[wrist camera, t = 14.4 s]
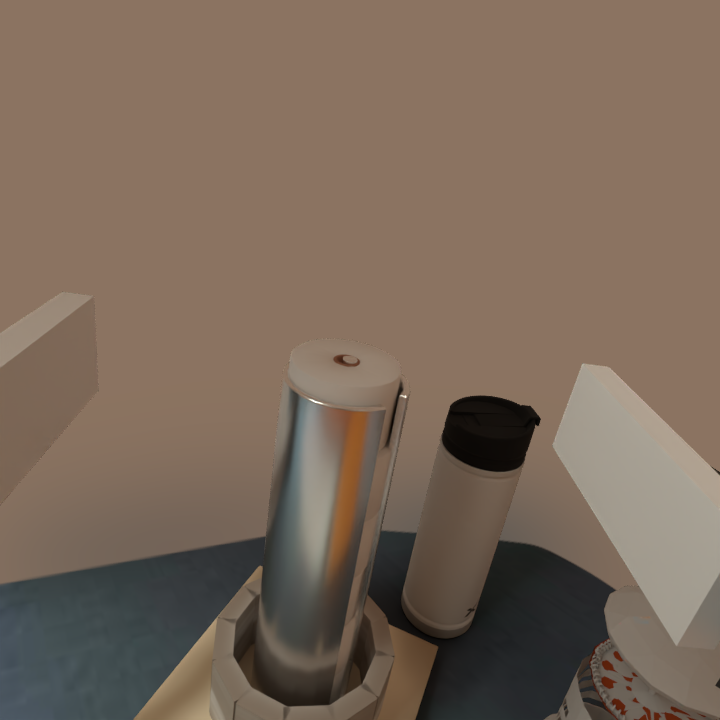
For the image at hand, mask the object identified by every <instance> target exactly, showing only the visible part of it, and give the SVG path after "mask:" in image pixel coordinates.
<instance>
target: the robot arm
mask: <svg viewBox="0 0 720 720" xmlns="http://www.w3.org/2000/svg"><path fill="white" fill-rule="evenodd" d="M97 391H98V369H97V349H96V328H95V305H94V296H91V295H83V294H76V293H69V292H62V293H60V294H59V295H57V296H56V297H54V298H53V299H51V300H50V301H48V302H47V303H45V304H44V305H42V306H41V307H39V308H38V309H36V310H35V311H33V312H32V313H30V314H28V315H27V316H25V317H24V318H22V319H21V320H19V321H18V322H17V323H15V324H13V325H12V326H10V327H9V328H7V329H6V330H4V331H3V332H1V333H0V505H1V504H2V503H3V501H4V500H5V499H6V498H7V497H8V496H9V494H10V493H11V492H12V491H13V490H14V488H15V487H16V486H17V485H18V484H19V483H20V481H21V480H22V479H23V478H24V477H25V476H26V474H27V473H28V472H29V471H30V470H31V469H32V468H33V466H34V465H35V464H36V463H37V462H38V461H39V459H40V458H41V457H42V456H43V455H44V454H45V452H46V451H47V450H48V449H49V448H50V447H51V445H52V444H53V443H54V441H56V440H57V438H58V437H59V436H60V435H61V434H62V433H63V431H64V430H65V429H66V428H67V427H68V425H69V424H70V423H71V422H72V421H73V420H74V418H75V417H76V416H77V415H78V414H79V413H80V411H81V410H82V409H83V408H84V407H85V406H86V404H87V403H88V402H89V401H90V400H91V399H92V397H93V396H94V395H95V394H96V393H97ZM552 446H553V448H554V449H555V451H556V453H557V454H558V456H559V457H560V459H561V461H562V462H563V464H564V466H565V467H566V469H567V470H568V472H569V474H570V475H571V477H572V478H573V480H574V482H575V483H576V485H577V487H578V488H579V490H580V491H581V493H582V495H583V496H584V498H585V500H586V501H587V503H588V504H589V506H590V508H591V509H592V511H593V512H594V514H595V516H596V517H597V519H598V521H599V522H600V524H601V525H602V527H603V529H604V530H605V532H606V533H607V535H608V537H609V538H610V540H611V542H612V543H613V545H614V546H615V548H616V550H617V551H618V553H619V554H620V556H621V557H622V559H623V561H624V562H625V564H626V566H627V567H628V569H629V570H630V572H631V574H632V575H633V577H634V578H635V580H636V582H637V583H638V585H639V587H640V588H641V590H642V592H643V593H644V595H645V596H646V598H647V600H648V601H649V603H650V604H651V606H652V608H653V609H654V611H655V612H656V614H657V616H658V617H659V619H660V621H661V622H662V624H663V625H664V627H665V629H666V630H667V632H668V633H669V635H670V637H671V638H672V640H673V642H674V643H675V645H676V646H679V647H690V648H702V649H713V650H714V649H715V648H716V646H717V644H718V643H719V641H720V472H719V471H717V470H716V469H714V468H713V467H711V466H709V465H708V464H707V463H706V462H705V461H704V460H703V459H702V458H701V457H700V456H699V455H698V454H697V453H696V452H695V451H694V450H693V449H692V448H691V447H690V446H689V445H688V444H687V443H686V442H685V441H684V440H683V439H682V438H681V437H680V436H679V435H677V433H676V432H675V431H674V430H673V429H672V428H671V427H670V426H668V424H667V423H665V422H664V421H663V420H662V419H661V418H660V417H659V416H658V415H657V414H656V413H655V412H654V411H653V410H652V409H651V408H650V407H649V406H648V405H647V404H646V403H645V402H644V401H643V400H642V399H641V398H640V397H639V396H638V395H637V394H636V393H635V392H634V391H633V390H632V389H631V388H630V387H629V386H628V385H627V384H625V382H623V381H622V380H621V379H620V378H619V377H618V376H617V375H616V374H615V373H614V372H613V371H612V370H611V369H610V368H609V367H604V366H597V365H590V364H582V367H581V369H580V372H579V375H578V378H577V380H576V383H575V386H574V388H573V391H572V394H571V397H570V399H569V402H568V405H567V407H566V410H565V413H564V416H563V418H562V421H561V424H560V426H559V429H558V432H557V434H556V437H555V440H554V443H553V445H552ZM715 686H716V687H718V688H719V689H720V678H719V680H718V682H717V683H716V685H715Z"/></svg>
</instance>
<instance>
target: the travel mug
mask: <svg viewBox="0 0 720 720" xmlns="http://www.w3.org/2000/svg"><path fill="white" fill-rule="evenodd" d="M540 420H541V419H540V417H539V416H538V415H537V413H536V412H535V411H534V410H533V408H532V407H531V406H525V405H521V406H520V405H519V404H517V403H515V402H512V401H509V400H506V399H503V398H498V397H493V396H470V397H465V398H462V399H459V400H457V401H455V402H454V403H453V404H452V405H451V406H450V409H449V412H448V415H447V418H446V422H445V428H444V430H443V433H442V435H441V439H440V444H439V447H438V451H437V454H436V459H435V463H434V467H433V471H432V475H431V479H430V483H429V487H428V491H427V495H426V499H425V503H424V507H423V511H422V515H421V519H420V523H419V527H418V531H417V535H416V539H415V543H414V547H413V551H412V555H411V560H410V564H409V568H408V572H407V576H406V580H405V584H404V588H403V592H402V597H401V604H402V608H403V611H404V613H405V615H406V617H407V619H408V620H409V621H410V622H411V623H412V624H413V625H414V626H415V627H416V628H417V629H419V630H420V631H422V632H423V633H425V634H428V635H430V636H433V637H437V638H445V639H447V638H454V637H457V636H460V635H462V634H463V633H465V632H466V631H467V630H468V629H469V627H470V625H471V623H472V620H473V617H474V614H475V610H476V608H477V605H478V602H479V599H480V596H481V593H482V590H483V587H484V584H485V581H486V578H487V575H488V571H489V568H490V565H491V562H492V559H493V556H494V553H495V550H496V547H497V544H498V541H499V538H500V535H501V532H502V529H503V526H504V523H505V520H506V517H507V513H508V511H509V508H510V504H511V501H512V498H513V495H514V492H515V489H516V486H517V483H518V480H519V477H520V474H521V470H522V467H523V465H524V461H525V456H526V452H527V450H528V447H529V444H530V440H531V438H532V435H533V432H534V428H535V424H536V425H537V426H539V423H540Z"/></svg>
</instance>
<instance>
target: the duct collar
mask: <svg viewBox="0 0 720 720" xmlns="http://www.w3.org/2000/svg"><path fill="white" fill-rule="evenodd" d="M262 570H263V567H261V566H259V567H258V568H257V569H256V570H255V572H254V573H253V574H252V575H251V577H250V578H249V579H248V580H247V581H246V583H245V584H244V585H243V586H242V588H241V589H240V590H239V591H238V592H237V594H236V595H235V596H234V597H233V599H232V600H231V601H230V602H229V603H228V605H227V606H226V607H225V608H224V610H223V611H222V612H221V613H220V614H219V616H218V617H217V618H216V619H215V621H214V622H213V623H212V624H211V625H210V627H209V628H208V629H207V630H206V632H205V633H204V634H203V635H202V636H201V638H200V639H199V640H198V641H197V643H196V644H195V645H194V646H193V647H192V649H191V650H190V651H189V652H188V654H187V655H186V656H185V657H184V658H183V660H182V661H181V662H180V663H179V665H178V666H177V667H176V668H175V669H174V671H173V672H172V673H171V674H170V676H169V677H168V678H167V679H166V680H165V682H164V683H163V684H162V685H161V687H160V688H159V689H158V690H157V691H156V693H155V694H154V695H153V696H152V698H151V699H150V700H149V701H148V702H147V704H146V705H145V706H144V707H143V709H142V710H141V711H140V712H139V713H138V715H137V716H136V717H135V718H134V720H415V719H416V716H417V713H418V710H419V707H420V704H421V700H422V697H423V694H424V691H425V688H426V685H427V681H428V678H429V675H430V672H431V669H432V666H433V663H434V659H435V656H436V653H437V649H438V646H435V645H433V644H431V643H429V642H427V641H424V640H422V639H420V638H418V637H416V636H413V635H411V634H409V633H407V632H405V631H402V630H400V629H398V628H396V627H394V626H391V625H389V624H388V621H387V617H386V615H385V614H384V613H383V612H382V611H381V609H380V608H379V607H378V606H377V605H376V604H375V603H374V601H373V600H372V599H371V598H370V597H369V596H368V595H367V599H366V604H365V608H364V613H363V618H362V623H361V627H360V632H359V637H358V641H357V646H356V651H355V656H354V660H353V665H352V670H351V675H350V679H349V684H348V689H347V693H346V695H345V696H343V697H341V698H340V699H338V700H337V701H335V702H334V703H332V704H331V705H321V706H294V707H287V706H285V705H283V704H282V703H280V702H278V701H276V700H274V699H272V698H270V697H268V696H267V695H265V694H263V693H261V692H259V691H257V690H255V689H253V688H251V679H252V669H253V659H254V649H255V640H256V630H257V620H258V610H259V600H260V590H261V580H262Z"/></svg>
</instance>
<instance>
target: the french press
mask: <svg viewBox="0 0 720 720" xmlns="http://www.w3.org/2000/svg"><path fill="white" fill-rule="evenodd" d="M604 613H605V618H606V624H607V630H608V635H609V639H607V640H605V641H603V642H602V643H600V644H599V645H597V646H595V648H594V650H593V653H591V654H590V655H589V656H587V657H586V658H584V659H583V661H582V663H581V665H580V667H579V669H578V671H577V673H576V675H575V677H574V679H573V681H572V683H571V686H570V688H569V690H568V692H567V694H566V696H565V698H566V699H564V701H563V703H562V705H561V707H560V709H559V711H558V714H551V715H550V716H548V717H547V718H545V719H544V720H720V689H719V688H718V687H716V686H715V685H716V683H717V682H718V680H719V678H720V641H719V643H718V644H717V646H716V648H715V649H714V650H713V649H702V648H690V647H679V646H676V645H675V643H674V642H673V640H672V638H671V637H670V635H669V633H668V632H667V630H666V629H665V627H664V625H663V624H662V622H661V621H660V619H659V617H658V616H657V614H656V612H655V611H654V609H653V608H652V606H651V604H650V603H649V601H648V600H647V598H646V596H645V595H644V593H643V592H642V590H641V588H640V587H639V586H624V587H623V588H621V589H619V590H617V591H615V592H613V593H611V594H610V595H609V598H608V600H607V603H606V606H605V609H604ZM588 664H590V669H587V670H586V671H585V672H584V673H583V674H582V675H581V676H579V675H580V673H581V672H582V671H583V670H584V669H585V668H586V666H587V665H588ZM589 675H591V676H592V680H587V681H583V682H581V683H580V684H578V682H579V681H580V679H581V678H582V677H585V676H589ZM578 676H579V677H578ZM577 677H578V678H577ZM589 686H594V687H595V689H596V691H597V692H594V691H587V692H582V693H580V691H579V689H581V688H585V687H589ZM587 697H589V698H592V699H595V700H598V701H601V702H603V704H604V706H605V708H606V709H607V710H608V711H609V712H610V713H611V714H612V715H613V716H612V715H611V714H610V713H608V712H607V711H606V710H604V709H603V708H601V707H598V706H595V705H592V704H590V703H587V702H584V703H583V700H582V698H587ZM566 702H567V703H566ZM565 703H566V704H565ZM564 704H565V705H564ZM563 705H564V706H563ZM566 706H567V707H568V708H567V709H566V710H565V711H564V708H565V707H566Z"/></svg>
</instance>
